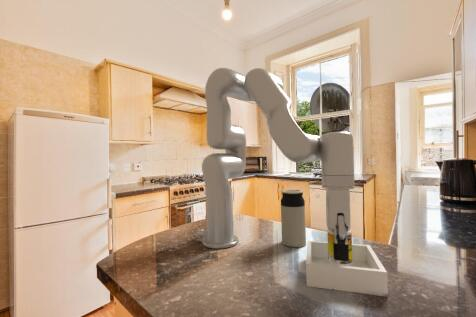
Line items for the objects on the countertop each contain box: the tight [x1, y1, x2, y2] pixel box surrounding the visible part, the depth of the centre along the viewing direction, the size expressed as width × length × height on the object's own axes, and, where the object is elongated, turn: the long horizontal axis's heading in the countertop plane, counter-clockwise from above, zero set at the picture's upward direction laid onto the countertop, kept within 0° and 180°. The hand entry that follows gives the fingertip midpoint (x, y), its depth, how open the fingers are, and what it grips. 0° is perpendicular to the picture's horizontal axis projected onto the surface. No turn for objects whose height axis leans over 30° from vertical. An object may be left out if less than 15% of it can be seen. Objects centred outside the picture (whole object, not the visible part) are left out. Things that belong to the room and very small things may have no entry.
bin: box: [305, 240, 389, 298], centre depth 58 cm, size 16×16×5 cm
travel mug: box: [280, 189, 307, 248], centre depth 80 cm, size 8×8×18 cm
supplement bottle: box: [326, 219, 353, 266], centre depth 58 cm, size 6×6×10 cm
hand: (339, 254), depth 58 cm, fingers closed on supplement bottle, 5 cm apart
